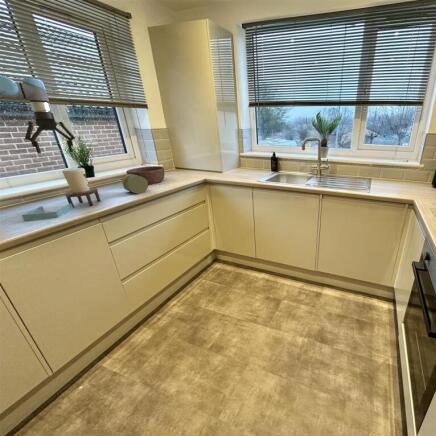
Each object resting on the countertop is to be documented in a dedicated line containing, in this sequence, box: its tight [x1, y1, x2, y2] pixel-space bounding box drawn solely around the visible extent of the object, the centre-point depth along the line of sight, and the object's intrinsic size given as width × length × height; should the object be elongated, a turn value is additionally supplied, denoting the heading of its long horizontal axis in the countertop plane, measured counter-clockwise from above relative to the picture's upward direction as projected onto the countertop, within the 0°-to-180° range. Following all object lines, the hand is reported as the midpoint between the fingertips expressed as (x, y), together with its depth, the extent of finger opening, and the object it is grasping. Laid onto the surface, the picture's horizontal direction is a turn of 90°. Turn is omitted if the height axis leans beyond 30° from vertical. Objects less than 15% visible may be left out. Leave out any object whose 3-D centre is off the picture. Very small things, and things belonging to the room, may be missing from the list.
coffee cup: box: [61, 167, 91, 193], centre depth 130 cm, size 9×9×12 cm
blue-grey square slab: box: [21, 203, 74, 222], centre depth 121 cm, size 14×13×3 cm
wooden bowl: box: [125, 165, 165, 186], centre depth 182 cm, size 25×25×10 cm
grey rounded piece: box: [120, 173, 149, 195], centre depth 156 cm, size 11×12×11 cm
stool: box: [64, 187, 102, 209], centre depth 134 cm, size 14×14×8 cm
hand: (55, 152), depth 134 cm, fingers open, 13 cm apart
